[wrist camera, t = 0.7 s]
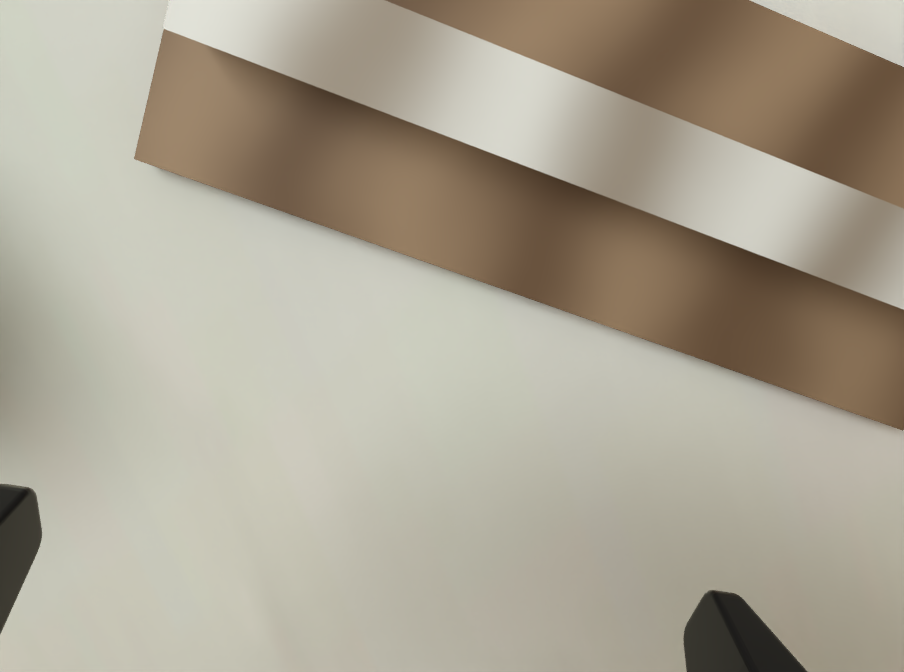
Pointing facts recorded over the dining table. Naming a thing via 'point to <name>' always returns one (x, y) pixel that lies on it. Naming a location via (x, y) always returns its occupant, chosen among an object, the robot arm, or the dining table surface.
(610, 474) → the dining table surface
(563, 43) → the rail board
